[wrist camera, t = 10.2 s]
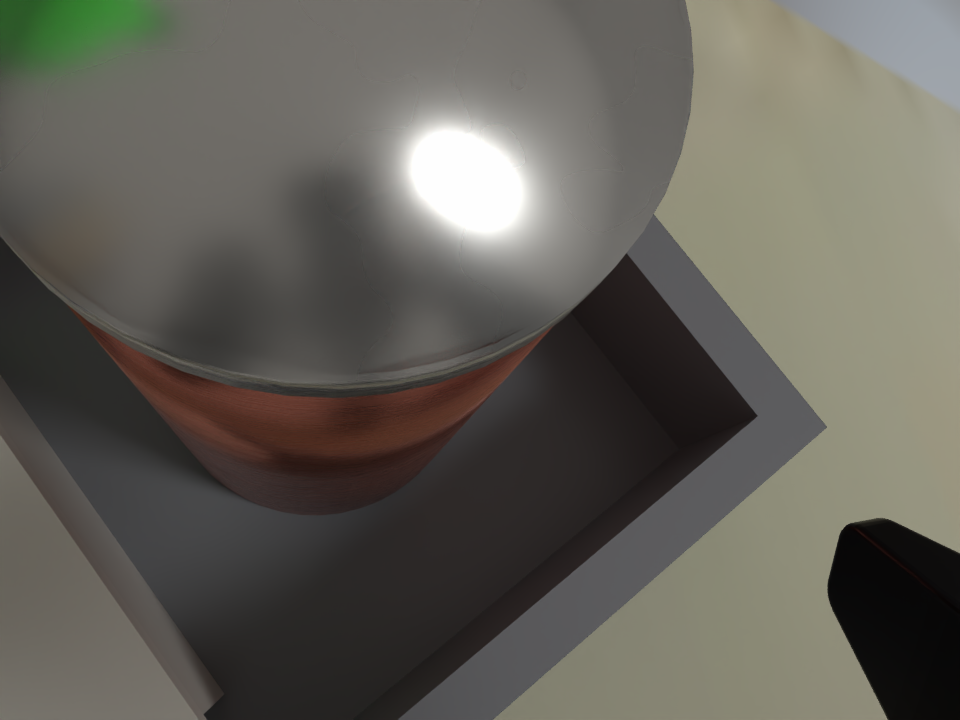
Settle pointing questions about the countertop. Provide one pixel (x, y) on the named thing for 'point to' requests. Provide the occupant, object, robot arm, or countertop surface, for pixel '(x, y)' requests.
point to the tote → (433, 502)
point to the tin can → (331, 207)
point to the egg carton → (79, 603)
